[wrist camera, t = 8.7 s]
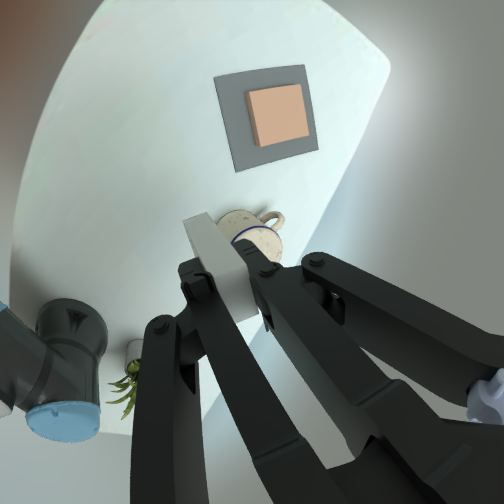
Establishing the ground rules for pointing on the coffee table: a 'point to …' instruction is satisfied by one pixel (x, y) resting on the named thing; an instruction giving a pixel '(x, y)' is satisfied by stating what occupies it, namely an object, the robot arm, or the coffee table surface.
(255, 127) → the tile
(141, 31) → the coffee table surface
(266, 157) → the mat
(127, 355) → the house plant
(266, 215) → the teacup with lid
